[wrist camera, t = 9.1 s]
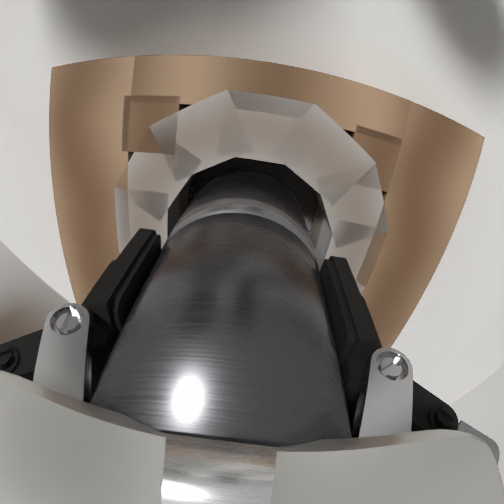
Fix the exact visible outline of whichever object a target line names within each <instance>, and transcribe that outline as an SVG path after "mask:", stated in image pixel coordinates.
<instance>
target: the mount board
mask: <svg viewBox="0 0 504 504" xmlns="http://www.w3.org/2000/svg"><path fill="white" fill-rule="evenodd" d="M49 137H50V159H51V173H52V183H53V193H54V201H55V208H56V215H57V221H58V227H59V233H60V238H61V243H62V248H63V253H64V257H65V262H66V266H67V270H68V274H69V278H70V282H71V286H72V290H73V293H74V297H75V300H76V303H77V304H79V305H81V304H82V303H83V301H84V300H85V298H86V297H87V295H88V294H89V292H90V291H91V289H92V288H93V286H94V285H95V284H96V282H97V281H98V279H99V278H100V276H101V275H102V274H103V272H104V271H105V269H106V268H107V267H108V265H109V264H110V263H111V262H112V261H113V260H116V259H117V258H118V256H119V255H120V254H121V252H122V251H123V249H124V248H125V247H126V245H127V244H128V243H129V241H130V240H131V239H132V238H133V236H134V235H135V234H136V232H137V231H138V230H139V229H140V228H145V229H152V230H155V231H156V234H158V235H160V236H161V249H162V247H163V246H164V244H165V242H166V240H167V239H168V237H169V235H170V234H171V232H172V230H173V228H174V227H175V225H176V223H177V222H178V220H179V218H180V217H181V215H182V214H183V213H184V212H185V211H186V209H187V207H188V197H189V182H190V180H191V178H192V177H193V176H194V174H195V173H197V172H200V171H202V170H204V169H207V168H209V167H212V166H214V165H217V164H219V163H222V162H224V161H227V160H229V159H232V158H234V157H239V158H246V159H253V160H259V161H266V162H272V163H278V164H283V165H286V166H287V167H288V168H290V169H291V170H292V171H293V172H294V173H296V174H297V175H298V176H299V177H300V178H302V179H303V180H304V181H305V182H306V183H308V184H309V185H310V186H311V187H312V188H313V189H315V192H316V195H317V199H318V204H317V208H316V212H315V215H314V219H313V223H312V227H311V231H310V232H309V235H310V238H311V241H312V245H313V249H314V252H315V256H316V260H317V263H318V267H319V272H320V270H321V266H322V263H323V261H324V259H329V257H330V256H336V257H342V258H346V259H347V261H348V264H349V266H350V269H351V271H352V274H353V276H354V278H355V281H356V283H357V286H358V289H359V291H360V294H361V296H363V297H364V299H365V301H366V304H367V307H368V309H369V312H370V314H371V317H372V320H373V323H374V325H375V328H376V331H377V334H378V336H379V339H380V342H381V345H382V348H385V347H388V348H391V346H392V345H393V343H394V342H395V340H396V338H397V337H398V335H399V334H400V332H401V331H402V329H403V327H404V326H405V324H406V323H407V321H408V319H409V318H410V316H411V314H412V313H413V311H414V309H415V307H416V306H417V304H418V302H419V300H420V299H421V297H422V295H423V293H424V291H425V289H426V288H427V286H428V284H429V282H430V280H431V278H432V276H433V274H434V272H435V270H436V268H437V266H438V264H439V262H440V260H441V258H442V256H443V254H444V251H445V249H446V247H447V245H448V243H449V240H450V238H451V236H452V233H453V231H454V229H455V226H456V224H457V221H458V219H459V216H460V214H461V211H462V209H463V206H464V203H465V201H466V198H467V195H468V192H469V189H470V186H471V183H472V180H473V177H474V174H475V171H476V168H477V164H478V161H479V157H480V154H481V150H482V146H483V142H484V138H485V137H483V136H481V135H480V134H478V133H476V132H474V131H472V130H471V129H469V128H467V127H465V126H463V125H461V124H459V123H457V122H455V121H453V120H451V119H449V118H447V117H445V116H443V115H441V114H439V113H437V112H435V111H432V110H430V109H428V108H426V107H423V106H421V105H419V104H416V103H414V102H412V101H409V100H407V99H404V98H401V97H399V96H396V95H394V94H391V93H388V92H385V91H382V90H379V89H377V88H374V87H371V86H367V85H364V84H361V83H358V82H354V81H351V80H348V79H344V78H340V77H337V76H333V75H329V74H325V73H321V72H317V71H312V70H308V69H303V68H298V67H293V66H288V65H282V64H276V63H270V62H263V61H256V60H248V59H240V58H230V57H217V56H200V55H146V56H129V57H117V58H107V59H99V60H91V61H84V62H78V63H72V64H67V65H62V66H57V67H52V72H51V85H50V106H49Z"/></svg>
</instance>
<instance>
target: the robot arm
mask: <svg viewBox="0 0 504 504" xmlns="http://www.w3.org/2000/svg"><path fill="white" fill-rule="evenodd" d="M160 251H161V236H160V235H158V234H156V231H155V230H152V229H145V228H140V229H139V230H138V231H137V232H136V234H135V235H134V236H133V238H132V239H131V240H130V241H129V243H128V244H127V245H126V247H125V248H124V249H123V251H122V252H121V254H120V255H119V256H118V258H117V259H116V260H113V261H112V262H111V263H110V264H109V265H108V267H107V268H106V269H105V271H104V272H103V274H102V275H101V276H100V278H99V279H98V281H97V282H96V284H95V285H94V286H93V288H92V289H91V291H90V292H89V294H88V295H87V297H86V298H85V300H84V301H83V303H82V304H81V305H79V304H75V303H67V304H63V305H60V306H58V307H56V308H55V309H53V310H52V311H51V312H50V313H49V314H48V316H47V319H46V321H45V325H44V329H42V330H39V331H36V332H33V333H31V334H28V335H25V336H22V337H20V338H17V339H14V340H12V341H9V342H6V343H3V344H1V345H0V504H161V497H162V482H163V469H164V458H165V443H166V437H163V436H160V435H157V434H155V433H152V432H160V431H158V430H155V429H153V428H151V427H148V426H146V425H144V424H141V423H139V422H137V421H135V420H133V419H131V418H129V417H128V416H126V415H124V414H121V413H118V412H114V411H111V410H108V409H105V408H102V407H98V406H95V405H92V404H90V400H91V398H92V395H93V393H94V390H95V388H96V385H97V383H98V381H99V378H100V376H101V374H102V371H103V369H104V367H105V364H106V362H107V360H108V358H109V355H110V353H111V351H112V349H113V347H114V345H115V342H116V340H117V338H118V336H119V334H120V332H121V330H122V327H123V325H124V323H125V321H126V319H127V317H128V315H129V313H130V311H131V309H132V307H133V305H134V303H135V301H136V299H137V297H138V295H139V293H140V291H141V289H142V287H143V286H144V284H145V282H146V280H147V278H148V276H149V274H150V272H151V270H152V269H153V267H154V265H155V263H156V261H157V259H158V257H159V254H160ZM320 281H321V285H322V289H323V293H324V297H325V301H326V306H327V310H328V314H329V319H330V323H331V327H332V332H333V336H334V341H335V346H336V350H337V355H338V360H339V365H340V370H341V375H342V380H343V385H344V391H345V396H346V402H347V407H348V413H349V419H350V425H351V431H352V438H345V439H321V440H317V441H313V442H309V443H304V444H299V445H292V446H285V447H279V448H288V449H292V450H286V451H277V454H276V465H275V473H274V481H273V489H272V496H271V503H270V504H504V487H503V483H502V479H501V476H500V472H499V469H498V466H497V465H498V461H499V448H498V446H497V444H496V442H495V441H493V440H492V439H491V438H489V437H487V436H486V435H484V434H482V433H481V432H479V431H478V430H476V429H474V428H473V427H471V426H470V425H468V424H466V423H465V422H463V421H460V422H459V423H458V418H457V416H456V413H455V412H454V410H453V409H452V408H451V407H450V406H449V405H448V404H446V403H445V402H443V401H442V400H440V399H439V398H437V397H436V396H435V395H433V394H432V393H430V392H429V391H427V390H426V389H425V388H423V387H422V386H420V385H419V384H418V383H416V382H415V381H413V369H412V365H411V363H410V361H409V359H408V358H407V357H406V356H405V355H404V354H403V353H401V352H400V351H398V350H396V349H393V348H388V347H385V348H382V345H381V342H380V339H379V336H378V334H377V331H376V328H375V325H374V323H373V320H372V317H371V314H370V312H369V309H368V307H367V304H366V301H365V299H364V297H363V296H361V294H360V291H359V289H358V286H357V283H356V281H355V278H354V276H353V274H352V271H351V269H350V266H349V264H348V261H347V259H346V258H342V257H336V256H330V257H329V259H324V261H323V263H322V266H321V270H320ZM150 431H152V432H150ZM160 433H163V432H160Z"/></svg>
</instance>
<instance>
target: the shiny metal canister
mask: <svg viewBox="0 0 504 504" xmlns="http://www.w3.org/2000/svg"><path fill="white" fill-rule="evenodd" d="M90 404H92V405H95V406H98V407H102V408H105V409H108V410H111V411H114V412H118V413H121V414H124V415H126V416H128V417H129V418H131V419H133V420H135V421H137V422H139V423H141V424H144V425H146V426H148V427H151V428H153V429H155V430H158V431H160V432H163V433H160V432H152V431H150V432H152V433H155V434H157V435H160V436H163V437H166V443H165V458H164V469H163V482H162V497H161V504H270V503H271V496H272V489H273V481H274V473H275V465H276V454H277V451H286V450H292V449H288V448H279V447H285V446H292V445H299V444H304V443H309V442H313V441H317V440H321V439H345V438H352V431H351V425H350V419H349V413H348V407H347V402H346V396H345V391H344V385H343V380H342V375H341V370H340V365H339V360H338V355H337V350H336V346H335V341H334V336H333V332H332V327H331V323H330V319H329V314H328V310H327V306H326V301H325V297H324V293H323V289H322V285H321V281H320V272H319V267H318V263H317V260H316V256H315V252H314V249H313V245H312V241H311V238H310V235H309V232H308V230H307V227H306V225H305V221H304V218H303V214H302V211H301V208H300V206H299V204H298V202H297V200H296V199H295V197H294V196H293V194H292V193H291V192H290V191H289V190H288V189H287V188H286V187H285V186H284V185H283V184H281V183H280V182H278V181H277V180H275V179H273V178H271V177H269V176H266V175H263V174H260V173H255V172H247V171H240V172H231V173H227V174H224V175H221V176H218V177H216V178H214V179H212V180H211V181H209V182H208V183H206V184H205V185H204V186H203V187H202V188H200V190H199V191H198V192H197V193H196V194H195V196H194V198H193V199H192V201H191V202H190V204H189V206H188V207H187V209H186V211H185V212H184V213H183V214H182V215H181V217H180V218H179V220H178V222H177V223H176V225H175V227H174V228H173V230H172V232H171V234H170V235H169V237H168V239H167V240H166V242H165V244H164V246H163V247H162V249H161V251H160V254H159V257H158V259H157V261H156V263H155V265H154V267H153V269H152V270H151V272H150V274H149V276H148V278H147V280H146V282H145V284H144V286H143V287H142V289H141V291H140V293H139V295H138V297H137V299H136V301H135V303H134V305H133V307H132V309H131V311H130V313H129V315H128V317H127V319H126V321H125V323H124V325H123V327H122V330H121V332H120V334H119V336H118V338H117V340H116V342H115V345H114V347H113V349H112V351H111V353H110V355H109V358H108V360H107V362H106V364H105V367H104V369H103V371H102V374H101V376H100V378H99V381H98V383H97V385H96V388H95V390H94V393H93V395H92V398H91V400H90Z"/></svg>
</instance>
